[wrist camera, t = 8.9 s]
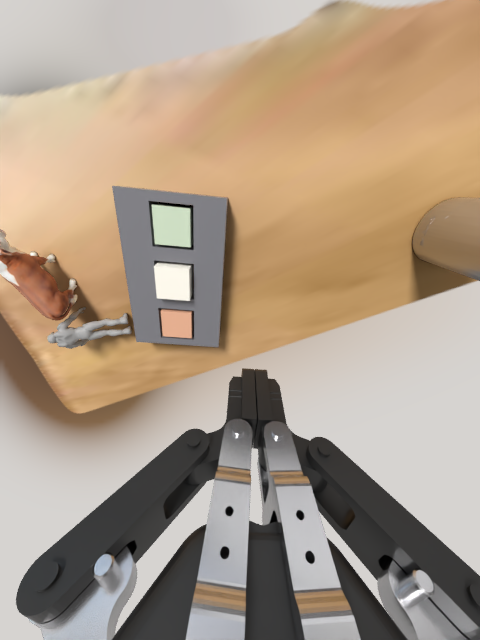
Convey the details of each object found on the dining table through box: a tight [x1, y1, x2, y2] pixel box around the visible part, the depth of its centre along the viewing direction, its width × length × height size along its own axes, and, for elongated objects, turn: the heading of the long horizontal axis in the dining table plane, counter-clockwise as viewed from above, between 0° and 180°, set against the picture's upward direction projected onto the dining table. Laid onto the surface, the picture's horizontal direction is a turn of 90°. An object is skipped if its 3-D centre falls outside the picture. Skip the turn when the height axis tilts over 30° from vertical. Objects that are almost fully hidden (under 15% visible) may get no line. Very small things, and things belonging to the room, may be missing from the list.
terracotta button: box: [161, 308, 194, 338], centre depth 38 cm, size 5×5×3 cm
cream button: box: [154, 261, 193, 301], centre depth 34 cm, size 5×5×3 cm
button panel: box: [112, 186, 228, 347], centre depth 35 cm, size 14×23×4 cm, turn 175°
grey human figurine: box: [48, 307, 132, 349], centre depth 39 cm, size 6×5×12 cm
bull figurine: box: [0, 229, 78, 320], centre depth 33 cm, size 4×13×8 cm, turn 17°
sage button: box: [152, 204, 194, 247], centre depth 31 cm, size 5×5×3 cm
